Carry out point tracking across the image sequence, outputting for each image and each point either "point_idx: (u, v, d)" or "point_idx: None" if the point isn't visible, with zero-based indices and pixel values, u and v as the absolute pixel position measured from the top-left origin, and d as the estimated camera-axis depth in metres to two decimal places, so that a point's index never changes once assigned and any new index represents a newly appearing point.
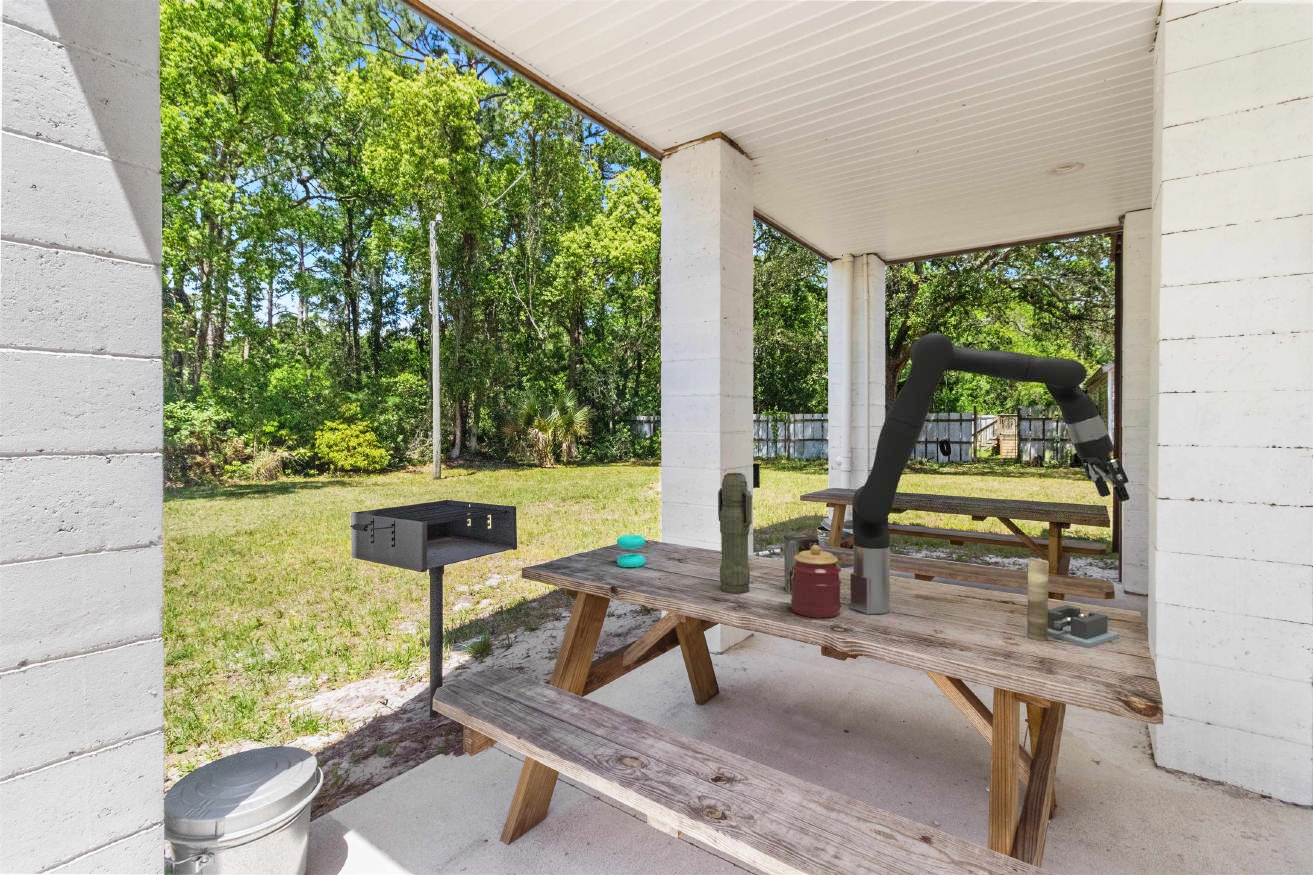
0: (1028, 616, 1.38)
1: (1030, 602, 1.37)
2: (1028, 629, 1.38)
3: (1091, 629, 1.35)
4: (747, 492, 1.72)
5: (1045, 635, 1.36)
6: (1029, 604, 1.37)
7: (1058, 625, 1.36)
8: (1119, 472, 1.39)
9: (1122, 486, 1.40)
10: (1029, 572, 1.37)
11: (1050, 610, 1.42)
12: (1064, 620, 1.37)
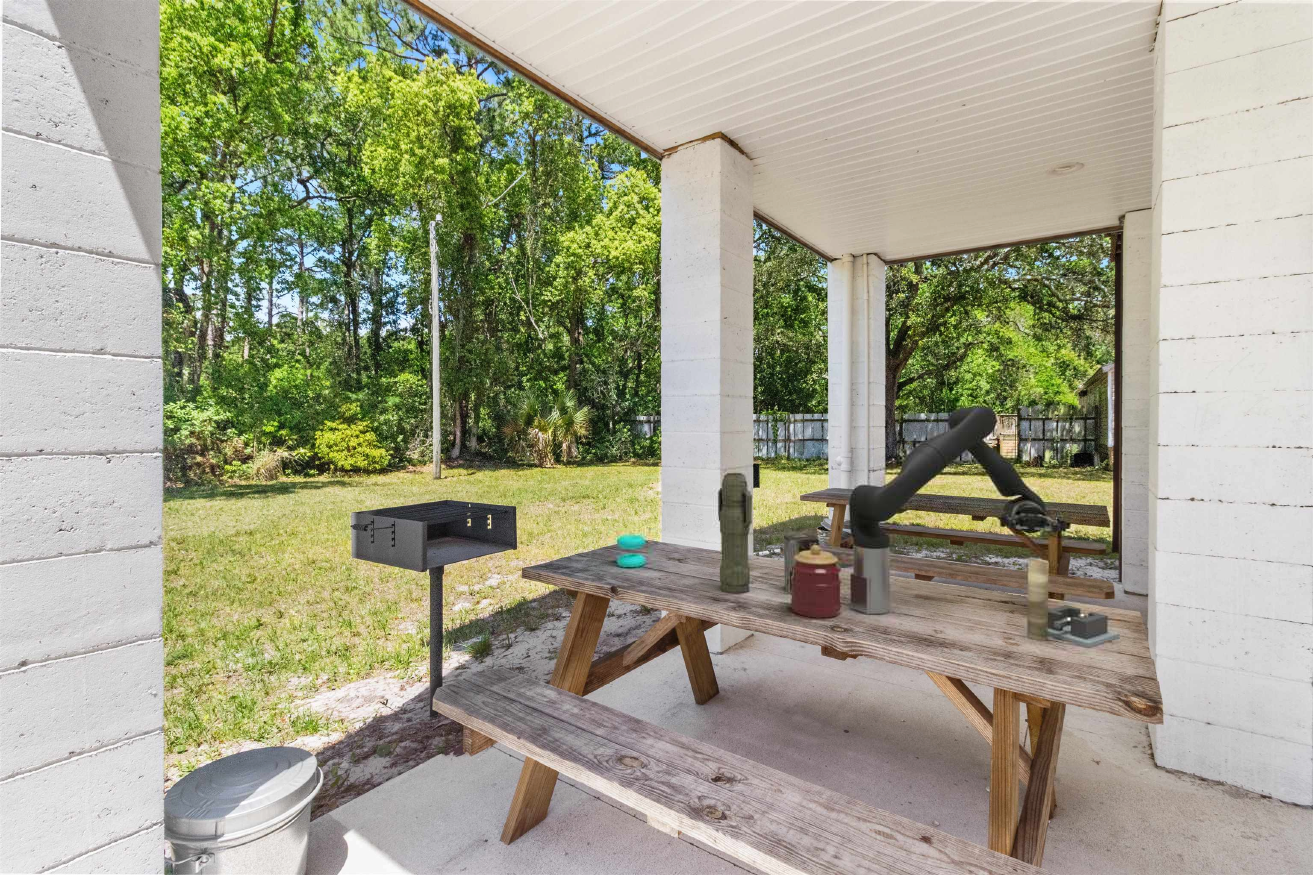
0: (1028, 616, 1.38)
1: (1030, 602, 1.37)
2: (1028, 629, 1.38)
3: (1091, 629, 1.35)
4: (747, 492, 1.72)
5: (1045, 635, 1.36)
6: (1029, 604, 1.37)
7: (1058, 625, 1.36)
8: None
9: None
10: (1029, 572, 1.37)
11: (1050, 610, 1.42)
12: (1064, 620, 1.37)
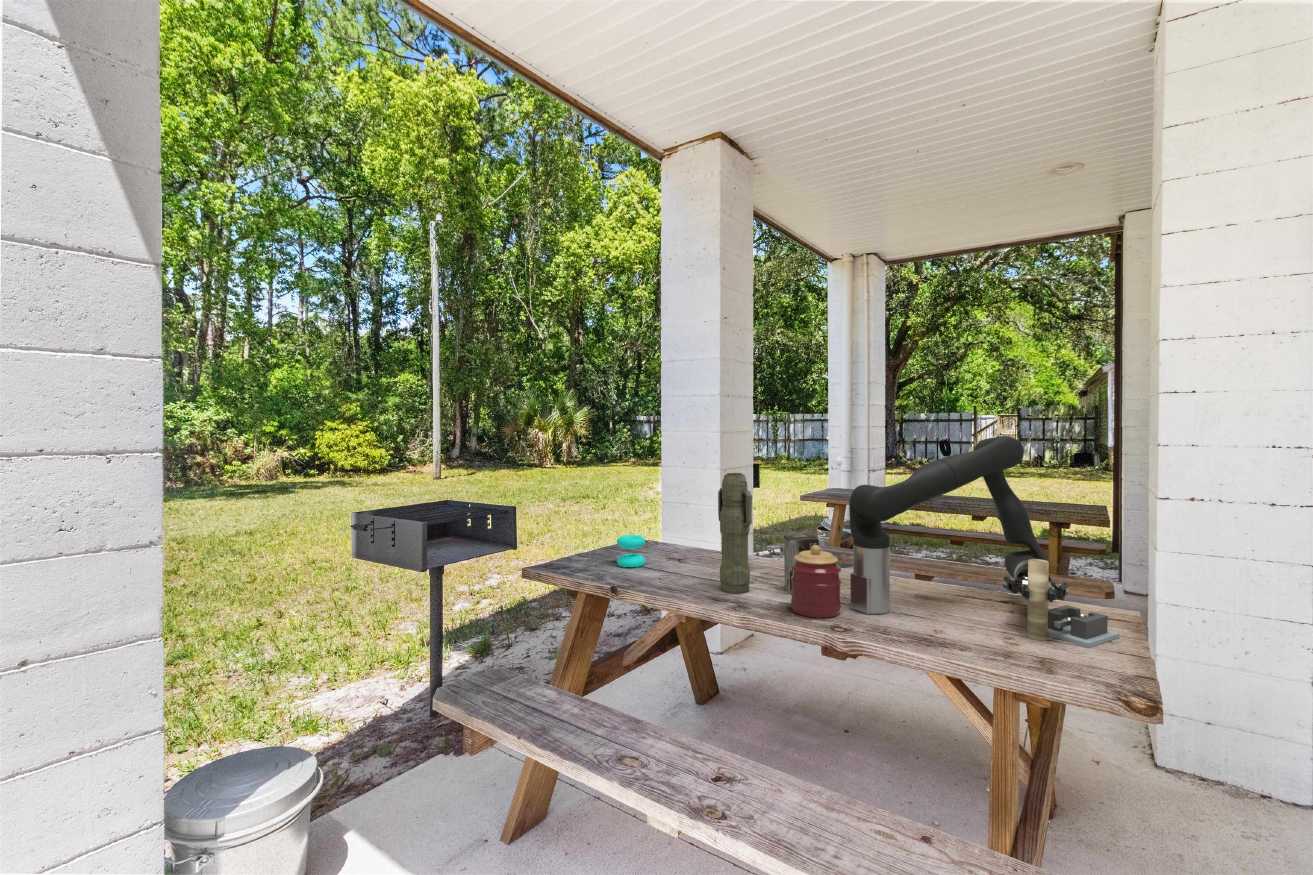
0: (1028, 616, 1.38)
1: (1030, 602, 1.37)
2: (1028, 629, 1.38)
3: (1091, 629, 1.35)
4: (747, 492, 1.72)
5: (1045, 635, 1.36)
6: (1029, 604, 1.37)
7: (1058, 625, 1.36)
8: (1065, 592, 1.38)
9: None
10: (1029, 572, 1.37)
11: (1050, 610, 1.42)
12: (1064, 620, 1.37)
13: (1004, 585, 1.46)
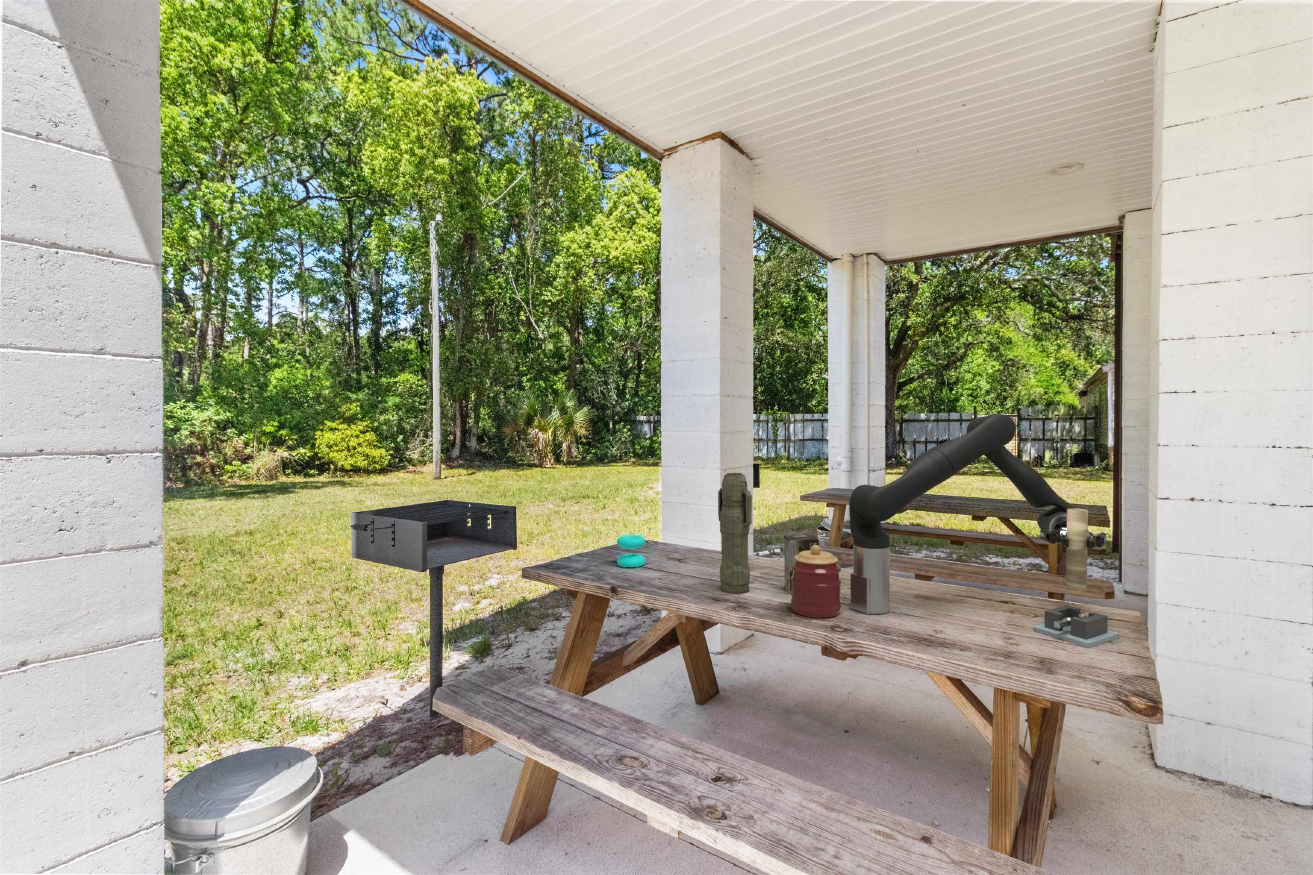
0: (1067, 565, 1.39)
1: (1069, 550, 1.39)
2: (1067, 577, 1.39)
3: (1091, 629, 1.35)
4: (747, 492, 1.72)
5: (1085, 583, 1.38)
6: (1068, 553, 1.39)
7: (1058, 625, 1.36)
8: (1104, 540, 1.40)
9: None
10: (1068, 521, 1.39)
11: (1050, 610, 1.42)
12: (1064, 620, 1.37)
13: (1041, 537, 1.47)
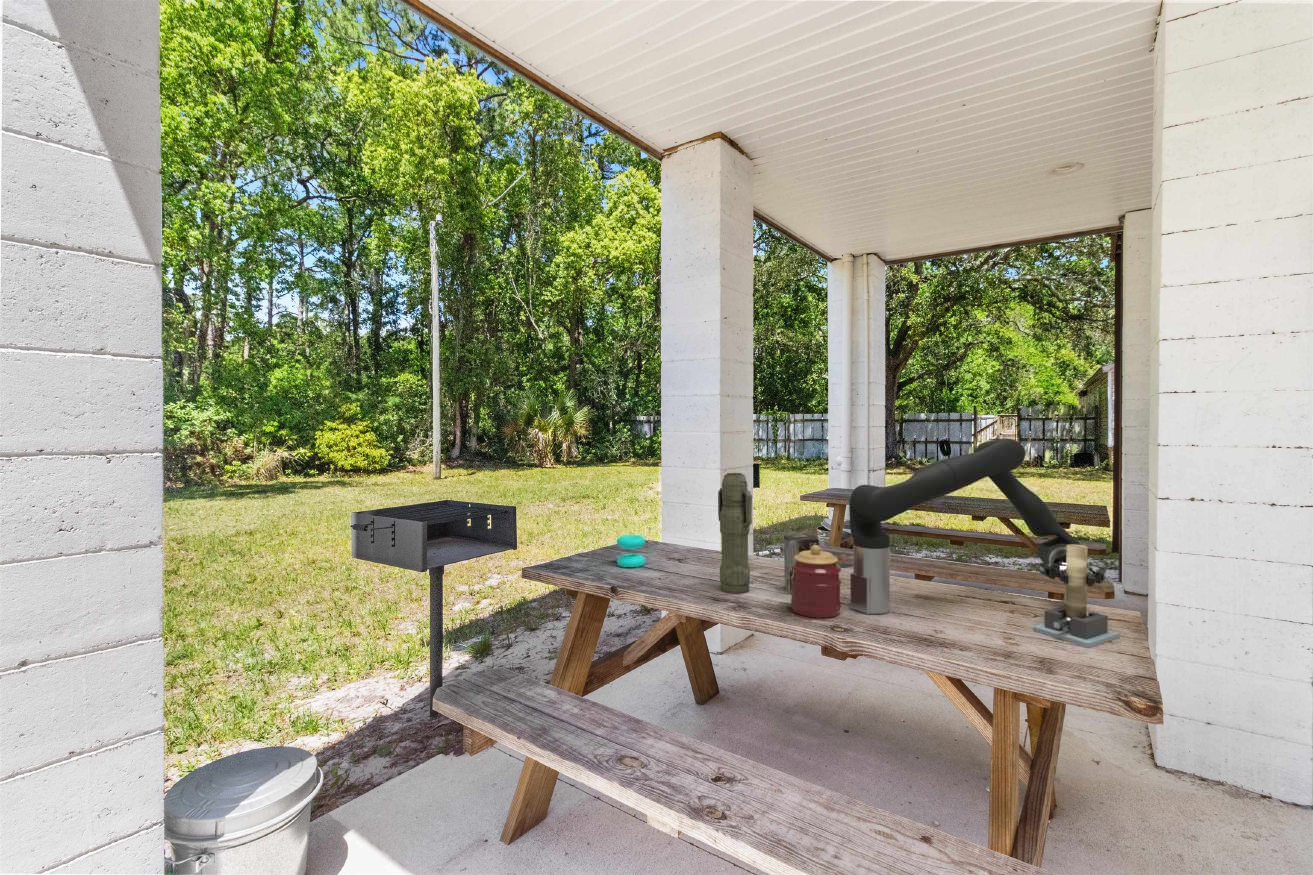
0: (1067, 601, 1.40)
1: (1069, 586, 1.39)
2: (1067, 613, 1.40)
3: (1091, 629, 1.35)
4: (747, 492, 1.72)
5: None
6: (1068, 589, 1.39)
7: (1058, 625, 1.36)
8: (1103, 576, 1.40)
9: None
10: (1067, 557, 1.39)
11: (1050, 610, 1.42)
12: (1064, 620, 1.37)
13: (1041, 571, 1.48)
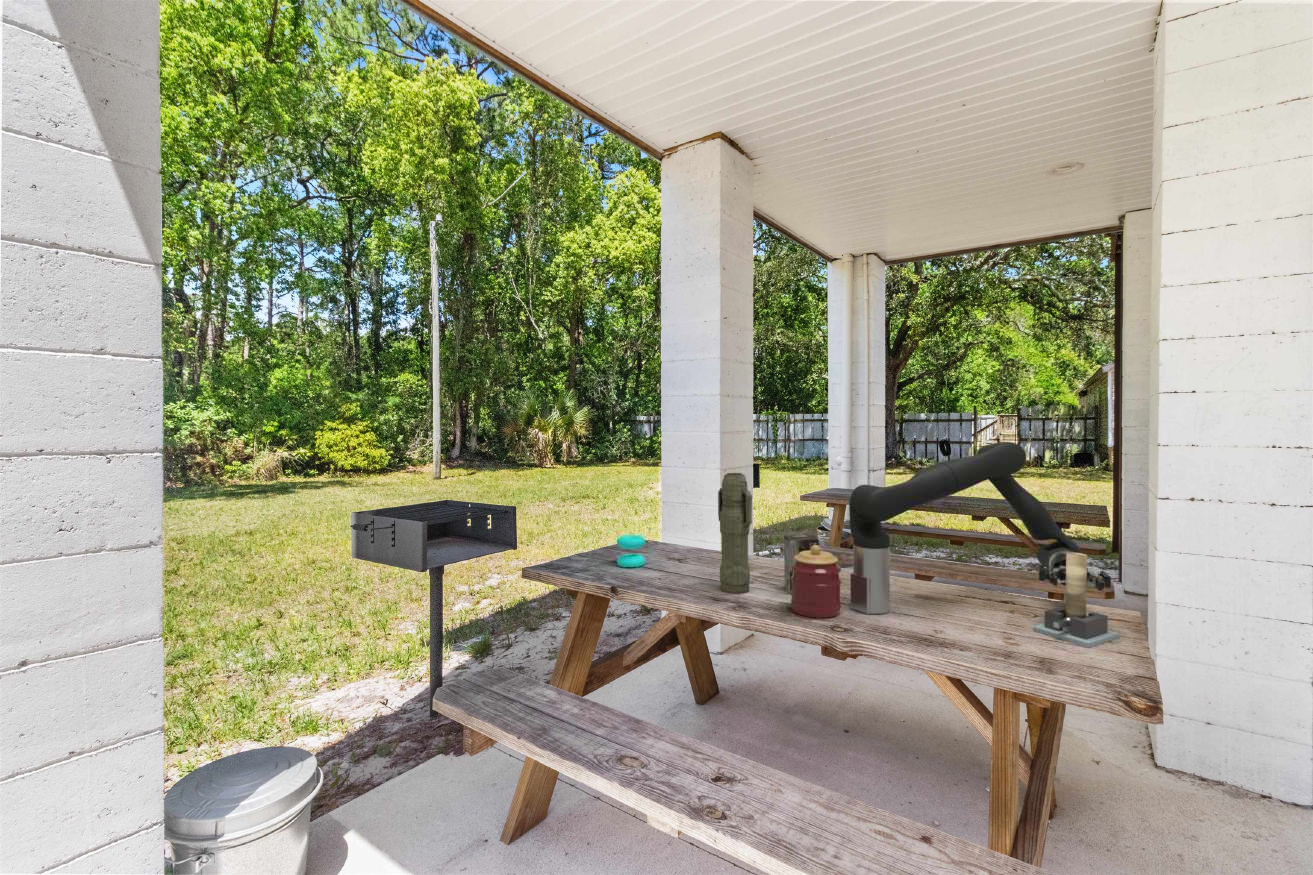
0: (1066, 609, 1.40)
1: (1068, 594, 1.39)
2: None
3: (1091, 629, 1.35)
4: (747, 492, 1.72)
5: None
6: (1067, 597, 1.39)
7: (1058, 625, 1.36)
8: None
9: None
10: (1067, 565, 1.39)
11: (1050, 610, 1.42)
12: (1064, 620, 1.37)
13: (1038, 573, 1.49)
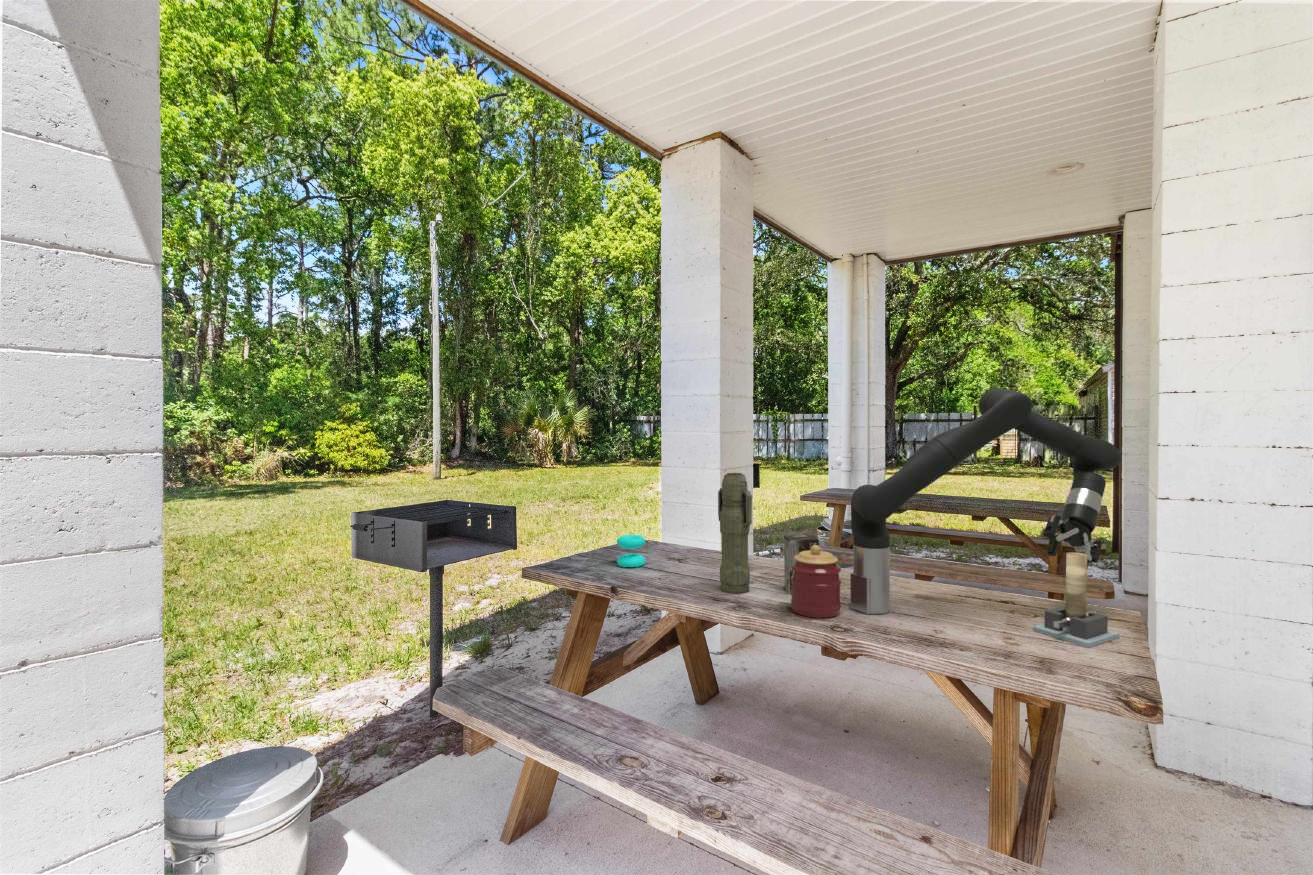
0: (1066, 609, 1.40)
1: (1068, 594, 1.39)
2: None
3: (1091, 629, 1.35)
4: (747, 492, 1.72)
5: None
6: (1067, 597, 1.39)
7: (1058, 625, 1.36)
8: None
9: None
10: (1067, 565, 1.39)
11: (1050, 610, 1.42)
12: (1064, 620, 1.37)
13: (1050, 519, 1.52)
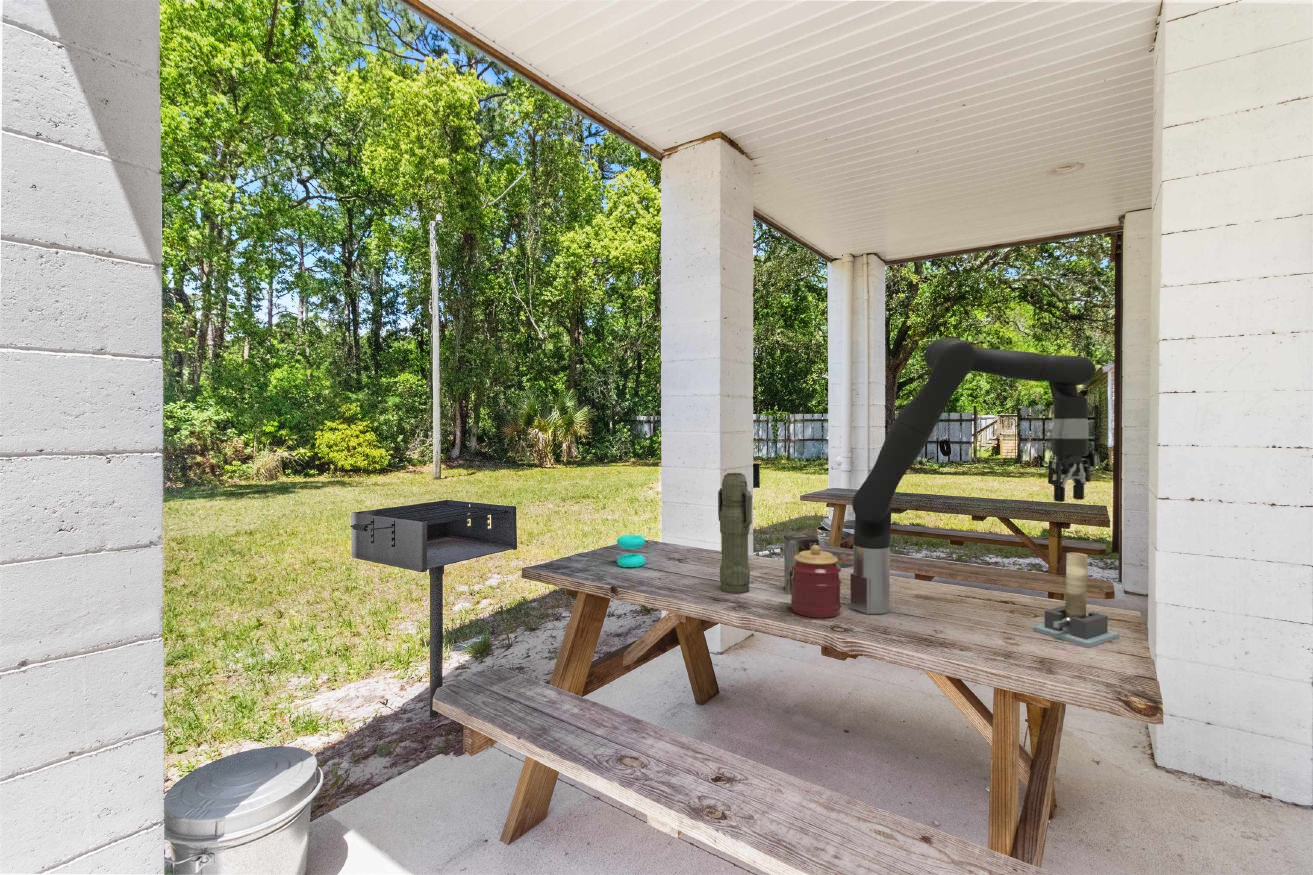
0: (1066, 609, 1.40)
1: (1068, 595, 1.39)
2: None
3: (1091, 629, 1.35)
4: (747, 492, 1.72)
5: None
6: (1067, 597, 1.39)
7: (1057, 625, 1.36)
8: None
9: None
10: (1067, 565, 1.39)
11: (1050, 610, 1.42)
12: (1064, 620, 1.37)
13: (1051, 464, 1.47)
